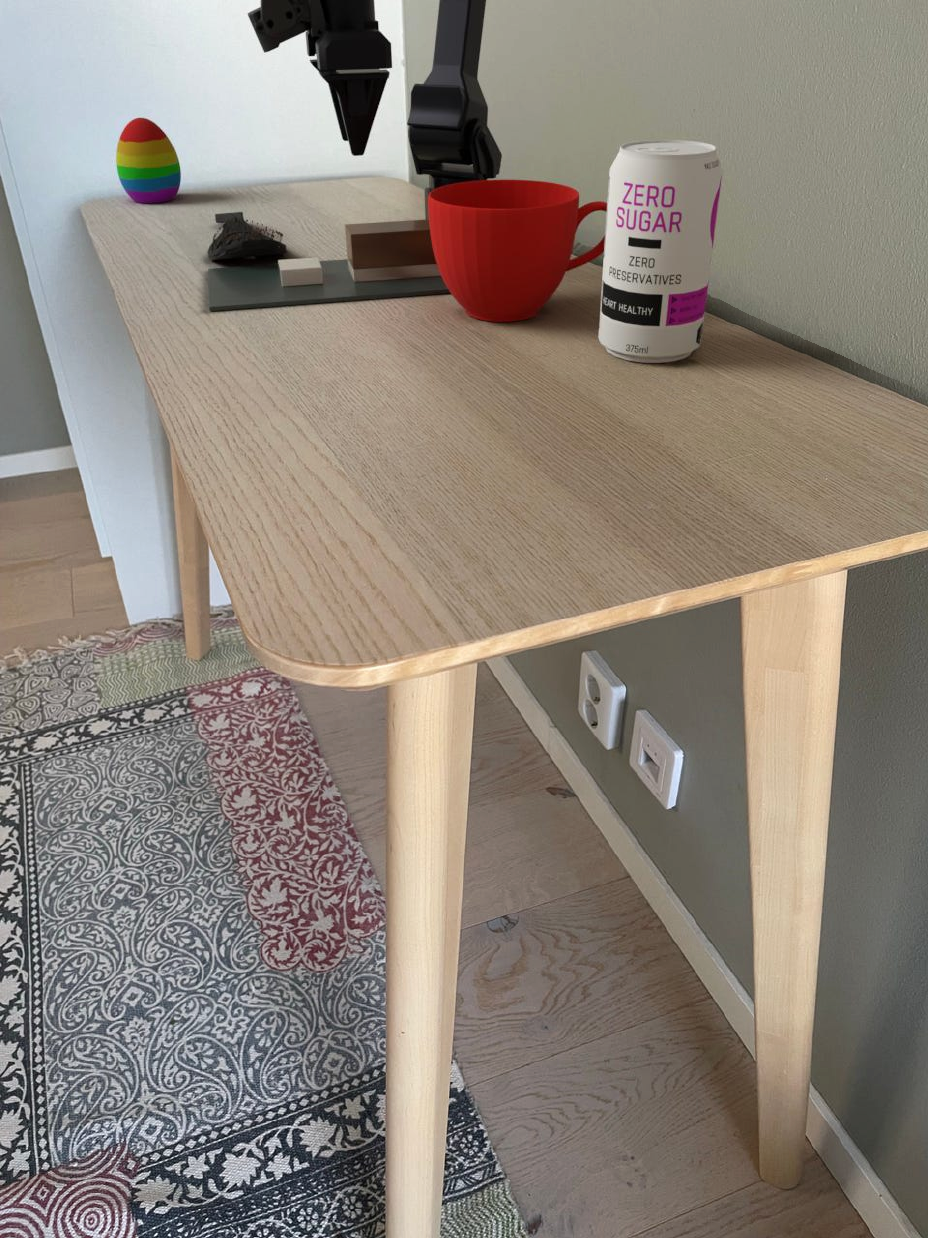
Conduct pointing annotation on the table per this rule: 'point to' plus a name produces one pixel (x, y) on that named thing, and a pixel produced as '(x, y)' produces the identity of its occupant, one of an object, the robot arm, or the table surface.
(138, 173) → the decorative egg
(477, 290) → the ceramic cup
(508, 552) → the table surface
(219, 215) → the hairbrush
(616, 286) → the white soda can
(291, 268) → the chalk
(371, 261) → the eraser
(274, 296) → the slate board
